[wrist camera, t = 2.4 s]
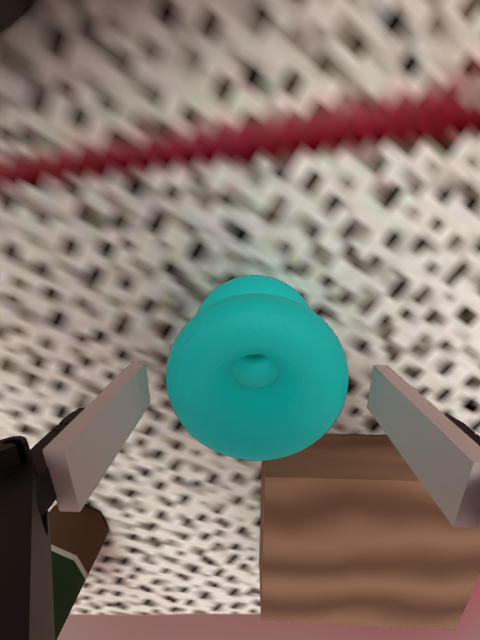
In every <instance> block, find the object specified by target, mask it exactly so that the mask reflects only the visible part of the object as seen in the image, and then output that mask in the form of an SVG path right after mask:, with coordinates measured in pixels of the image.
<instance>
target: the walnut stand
mask: <svg viewBox="0 0 480 640" xmlns="http://www.w3.org/2000/svg"><path fill="white" fill-rule="evenodd" d="M259 568H260V603H261V621H275V622H295V623H315V624H333V625H352V626H371V627H391V628H410V629H430V630H448V631H449V630H450V631H455V630H456V627H457V626H458V623H459V621H460V619H461V616H462V614H463V612H464V609H465V607H466V605H467V603H468V600H469V598H470V596H471V593H472V591H473V589H474V586H475V584H476V582H477V579H478V577H479V575H480V519H479V522H478V525H477V528H465V527H453V526H452V525H451V523H450V522H449V521H448V519H447V518H446V516H445V515H444V514H443V512H442V511H441V509H440V508H439V507H438V505H437V504H436V503H435V501H434V500H433V498H432V497H431V496H430V494H429V493H428V491H427V490H426V489H425V487H424V486H423V484H422V483H421V482H420V480H419V479H418V478H417V476H416V475H415V473H414V472H413V471H412V469H411V468H410V466H409V465H408V464H407V462H406V461H405V459H404V458H403V457H402V455H401V454H400V453H399V451H398V450H397V448H396V447H395V446H394V444H393V443H392V441H391V440H390V439H389V437H388V436H387V435H352V434H324V435H323V436H322V437H321V438H320V439H319V440H317V441H316V442H315V443H313V444H312V445H310V446H308V447H307V448H305V449H303V450H302V451H300V452H297V453H295V454H292V455H289V456H286V457H282V458H278V459H273V460H263V461H262V475H261V516H260V558H259Z"/></svg>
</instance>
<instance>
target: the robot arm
mask: <svg viewBox="0 0 480 640" xmlns="http://www.w3.org/2000/svg"><path fill="white" fill-rule="evenodd" d="M31 1H32V0H0V30H1V29H2V28H4V27H6V26H7V25H9V24H10V23H12V22H13V21H14V20H15V19H16V18H17V17H19V16H20V15H21V13H22V12H23V11H24V10H25V9H26V8H27V6H28V5H29V4H30V2H31ZM149 404H150V396H149V388H148V380H147V372H146V364H145V362H132V363H131V364H130V365H129V366H128V367H127V368H126V369H125V370H124V371H123V372H122V373H121V374H120V375H119V376H118V377H117V378H116V379H115V380H114V381H112V382H111V383H110V384H109V385H108V386H107V387H106V388H105V389H104V390H103V391H102V392H101V393H100V394H99V395H98V396H97V397H96V398H95V399H94V400H93V401H92V402H91V403H90V404H89V405H88V406H87V407H86V408H79V409H77V410H76V411H74V412H72V413H71V414H69V415H68V416H66V417H65V418H64V419H63V420H62V421H61V422H60V423H59V425H57V426H56V427H55V428H53V429H52V431H51V432H49V433H48V434H47V435H46V436H45V437H44V438H43V439H41V440H40V441H39V442H38V443H37V444H36V445H35V446H34V447H33V448H32V449H31V450H30V449H29V445H28V442H27V440H26V438H25V437H22V436H15V437H9V438H5V439H2V440H0V640H55V625H54V602H53V579H52V556H51V534H50V516H49V512H48V509H49V508H50V506H51V505H52V504H53V502H54V501H55V500H56V501H57V504H58V508H59V511H65V512H80V511H81V510H82V508H83V506H84V505H85V503H86V502H87V500H88V499H89V497H90V496H91V494H92V492H93V491H94V489H95V488H96V486H97V485H98V483H99V482H100V480H101V479H102V477H103V475H104V474H105V472H106V471H107V469H108V468H109V466H110V465H111V463H112V461H113V460H114V458H115V457H116V455H117V454H118V452H119V451H120V449H121V448H122V446H123V444H124V443H125V441H126V440H127V438H128V437H129V435H130V434H131V432H132V430H133V429H134V427H135V426H136V424H137V423H138V421H139V420H140V418H141V416H142V415H143V413H144V412H145V410H146V409H147V407H148V406H149ZM367 408H368V409H369V411H370V412H371V414H372V415H373V416H374V418H375V419H376V421H377V422H378V423H379V425H380V426H381V428H382V429H383V430H384V432H385V433H386V434H387V436H388V437H389V439H390V440H391V441H392V443H393V444H394V446H395V447H396V448H397V450H398V451H399V453H400V454H401V455H402V457H403V458H404V459H405V461H406V462H407V464H408V465H409V466H410V468H411V469H412V471H413V472H414V473H415V475H416V476H417V478H418V479H419V480H420V482H421V483H422V484H423V486H424V487H425V489H426V490H427V491H428V493H429V494H430V496H431V497H432V498H433V500H434V501H435V503H436V504H437V505H438V507H439V508H440V509H441V511H442V512H443V514H444V515H445V516H446V518H447V519H448V521H449V522H450V523H451V525H452V526H453V527H465V528H477V525H478V522H479V519H480V436H478V435H477V434H475V432H474V431H472V430H471V429H470V428H469V427H468V426H466V425H465V424H464V423H463V422H461V421H459V420H457V419H455V418H454V417H452V416H450V415H444V414H443V413H441V412H440V411H439V410H438V409H437V408H436V407H435V406H433V405H432V404H431V403H430V402H429V401H428V400H426V399H425V398H424V397H423V396H422V395H421V394H420V393H418V392H417V391H416V390H415V389H414V388H413V387H412V386H410V385H409V384H408V383H407V382H406V381H405V380H404V379H402V378H401V377H400V376H399V375H398V374H397V373H396V372H394V371H393V370H392V369H391V368H390V367H389V366H388V365H374V366H373V372H372V379H371V385H370V391H369V397H368V404H367Z"/></svg>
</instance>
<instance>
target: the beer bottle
mask: <svg viewBox="0 0 480 640" xmlns="http://www.w3.org/2000/svg"><path fill="white" fill-rule="evenodd" d="M49 516H50V534H51V556H52V579H53V602H54V625H55V640H57V638H58V636H59V634H60V631H61V629H62V627H63V625H64V623H65V621H66V619H67V617H68V615H69V613H70V611H71V609H72V607H73V605H74V603H75V601H76V599H77V596H78V594H79V592H80V590H81V588H82V586H83V584H84V582H85V580H86V578H87V576H88V574H89V572H90V570H91V568H92V566H93V564H94V561H95V559H96V557H97V555H98V553H99V551H100V549H101V547H102V544H103V542H104V540H105V538H106V535H107V533H108V526H107V524H106V522H105V520H104V518H103V516H102V514H101V512H100V511H98V510H96V509H94V508H92V507H90V506H88V505H84V506H83V508H82V510H81V511H80V512H65V511H59V508H58V504H57V505H55V506H54V507H53V508H52V509H51V510H50V512H49Z"/></svg>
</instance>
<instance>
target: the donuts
mask: <svg viewBox="0 0 480 640" xmlns="http://www.w3.org/2000/svg"><path fill="white" fill-rule="evenodd" d="M166 385H167V391H168V396H169V399H170V402H171V405H172V407H173V410H174V412H175V414H176V416H177V417H178V419H179V421H180V422H181V424H182V425H183V426H184V427H185V429H186V430H187V431H188V432H189V433H190V434H191V435H192V436H193V437H194V438H196V439H197V440H198V441H199V442H201V443H202V444H204V445H205V446H207V447H209V448H211V449H212V450H214V451H216V452H218V453H221V454H223V455H226V456H230V457H233V458H237V459H243V460H253V461H263V460H273V459H278V458H282V457H286V456H289V455H292V454H295V453H297V452H300V451H302V450H303V449H305V448H307V447H308V446H310V445H312V444H313V443H315V442H316V441H317V440H319V439H320V438H321V437H322V436H323V435H324V434H325V433H326V432H327V431H328V430H329V429H330V428H331V426H332V425H333V424H334V422H335V421H336V419H337V418H338V416H339V414H340V412H341V410H342V407H343V405H344V402H345V399H346V395H347V390H348V367H347V361H346V357H345V354H344V351H343V348H342V346H341V344H340V342H339V340H338V338H337V336H336V335H335V333H334V332H333V330H332V329H331V328H330V327H329V326H328V324H327V323H326V322H325V321H324V320H323V319H322V318H321V317H320V316H319V315H317V314H316V313H315V312H314V311H312V310H311V309H310V308H309V306H308V305H307V303H306V301H305V300H304V299H303V298H302V296H301V295H300V294H299V293H298V292H297V291H296V290H294V289H293V288H292V287H290V286H289V285H287V284H286V283H284V282H282V281H280V280H277V279H275V278H271V277H267V276H260V275H250V276H242V277H238V278H235V279H232V280H229V281H227V282H225V283H223V284H222V285H220V286H219V287H217V288H216V289H215V290H214V291H212V292H211V293H210V294H209V296H208V297H207V298H206V299H205V300H204V302H203V303H202V305H201V307H200V309H199V311H198V313H197V314H196V315H195V316H194V317H193V318H192V319H191V320H190V321H189V322H188V323H187V324H186V325H185V326H184V328H183V329H182V330H181V332H180V333H179V335H178V336H177V338H176V340H175V342H174V344H173V346H172V348H171V351H170V354H169V358H168V363H167V370H166Z"/></svg>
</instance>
